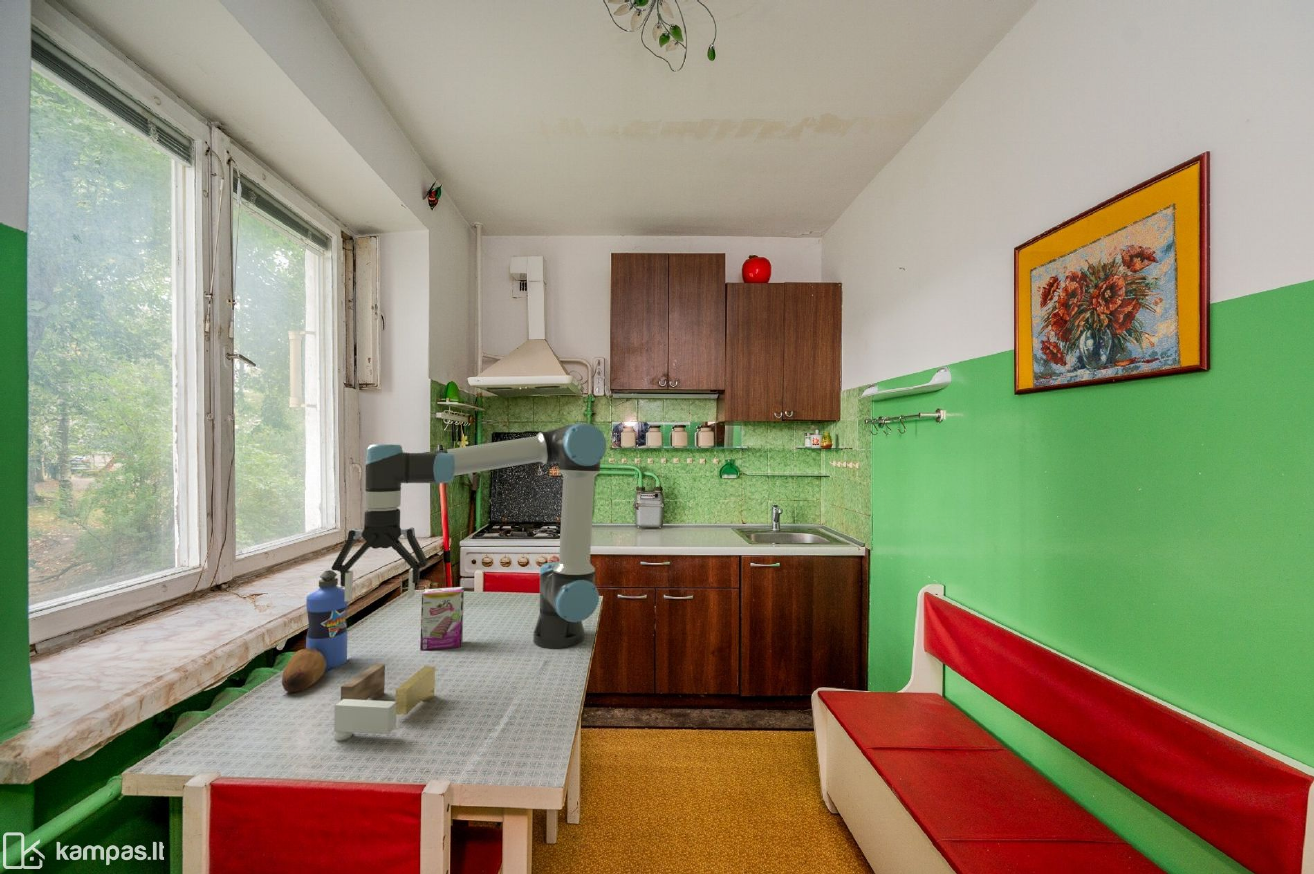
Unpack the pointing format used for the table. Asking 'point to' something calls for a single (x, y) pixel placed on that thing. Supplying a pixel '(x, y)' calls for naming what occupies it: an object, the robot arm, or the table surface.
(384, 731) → the light grey boxy piece
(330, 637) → the water bottle
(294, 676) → the potato
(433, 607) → the candy bar box
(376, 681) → the lever
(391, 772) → the table surface
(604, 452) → the robot arm
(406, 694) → the lever
